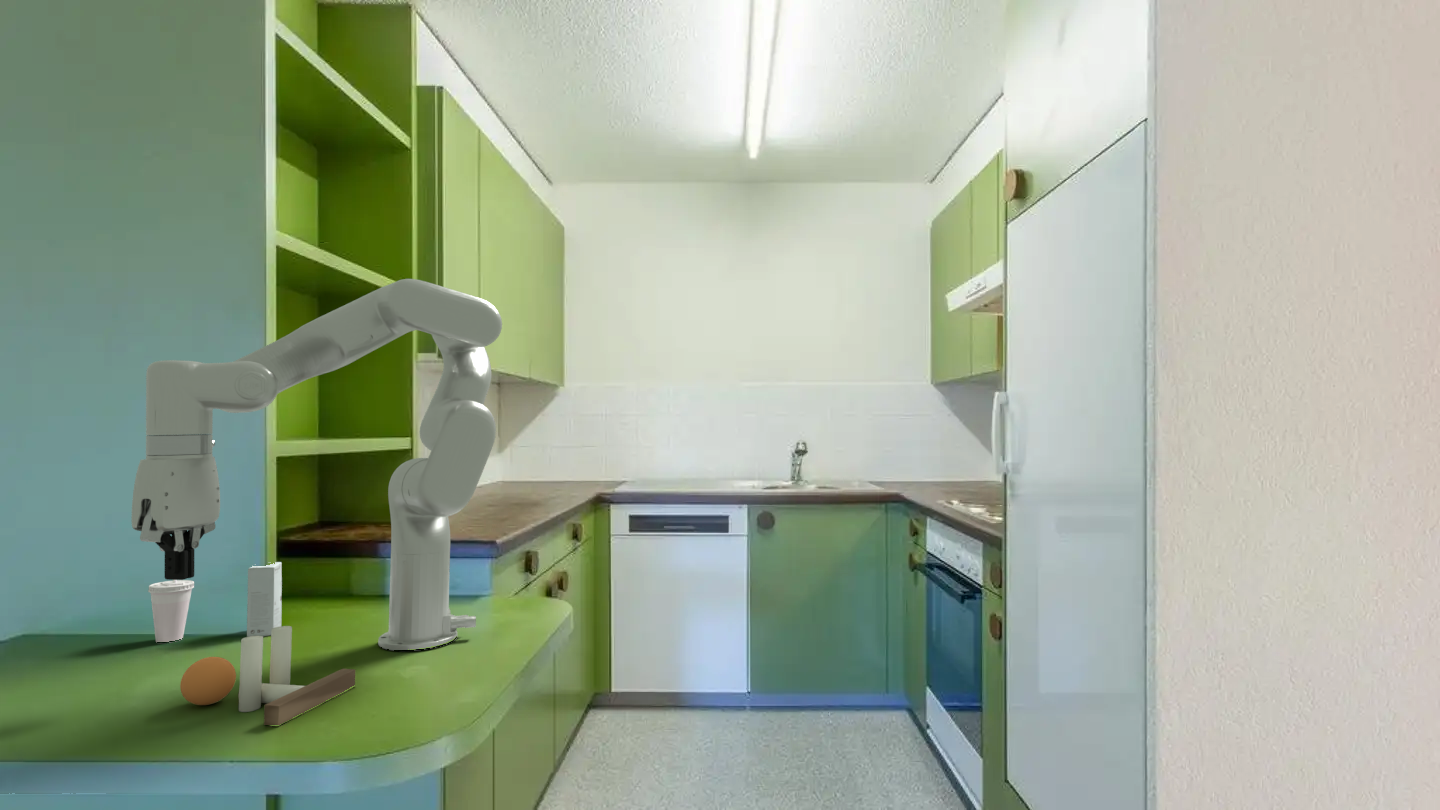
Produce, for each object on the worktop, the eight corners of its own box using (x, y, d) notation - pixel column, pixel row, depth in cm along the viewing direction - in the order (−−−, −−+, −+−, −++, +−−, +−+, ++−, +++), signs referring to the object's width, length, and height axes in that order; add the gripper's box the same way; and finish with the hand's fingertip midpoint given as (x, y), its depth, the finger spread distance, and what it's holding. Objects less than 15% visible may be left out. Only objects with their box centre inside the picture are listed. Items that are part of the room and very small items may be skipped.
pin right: (291, 690, 99) (293, 625, 100) (287, 696, 97) (290, 629, 97) (271, 693, 98) (273, 626, 99) (267, 698, 96) (269, 631, 97)
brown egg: (243, 647, 97) (223, 671, 99) (192, 647, 93) (172, 672, 95) (245, 689, 94) (224, 712, 96) (192, 691, 89) (171, 715, 91)
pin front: (255, 690, 97) (315, 693, 96) (242, 705, 95) (304, 709, 94) (247, 678, 96) (308, 682, 95) (235, 693, 94) (297, 697, 93)
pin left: (262, 703, 94) (264, 635, 95) (258, 710, 92) (261, 639, 92) (241, 706, 93) (243, 636, 94) (236, 712, 91) (239, 641, 92)
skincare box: (274, 635, 126) (276, 566, 127) (244, 638, 125) (247, 568, 125) (282, 626, 132) (284, 561, 133) (254, 629, 131) (256, 562, 131)
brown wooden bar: (263, 725, 87) (264, 705, 87) (342, 686, 101) (342, 668, 101) (278, 727, 87) (279, 706, 87) (354, 687, 101) (355, 669, 101)
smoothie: (166, 646, 120) (170, 562, 120) (135, 644, 121) (139, 560, 121) (201, 636, 126) (204, 556, 126) (171, 633, 127) (175, 554, 128)
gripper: (202, 446, 109) (202, 567, 108) (104, 450, 94) (103, 590, 94) (246, 446, 108) (246, 568, 107) (153, 450, 93) (153, 591, 93)
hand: (179, 578), depth 100 cm, fingers closed
